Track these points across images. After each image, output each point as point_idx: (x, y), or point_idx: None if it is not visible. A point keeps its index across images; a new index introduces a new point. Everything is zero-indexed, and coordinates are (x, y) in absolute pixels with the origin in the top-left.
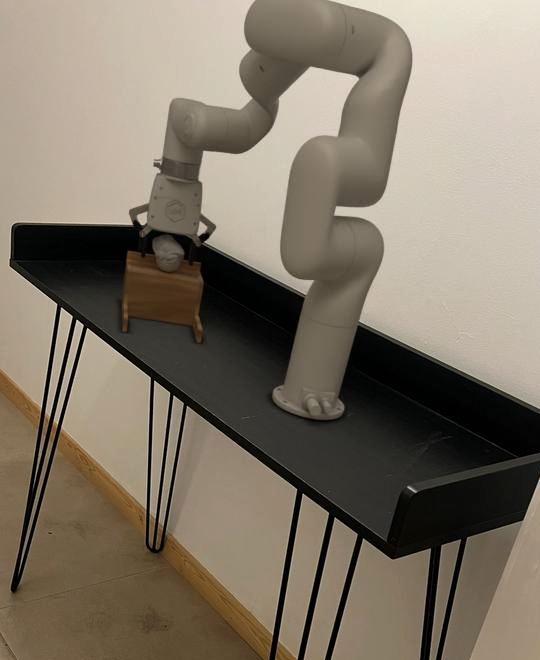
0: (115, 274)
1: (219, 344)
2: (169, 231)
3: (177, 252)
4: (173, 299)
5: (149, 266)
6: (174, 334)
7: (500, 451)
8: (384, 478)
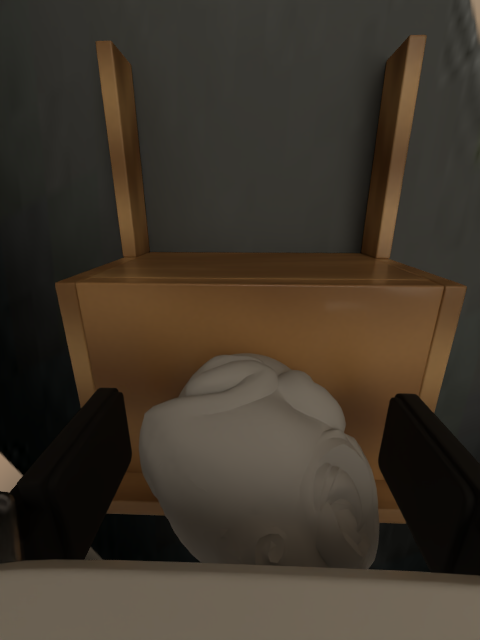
0: None
1: (52, 86)
2: (306, 574)
3: (190, 401)
4: (212, 264)
5: None
6: (209, 128)
7: None
8: None
